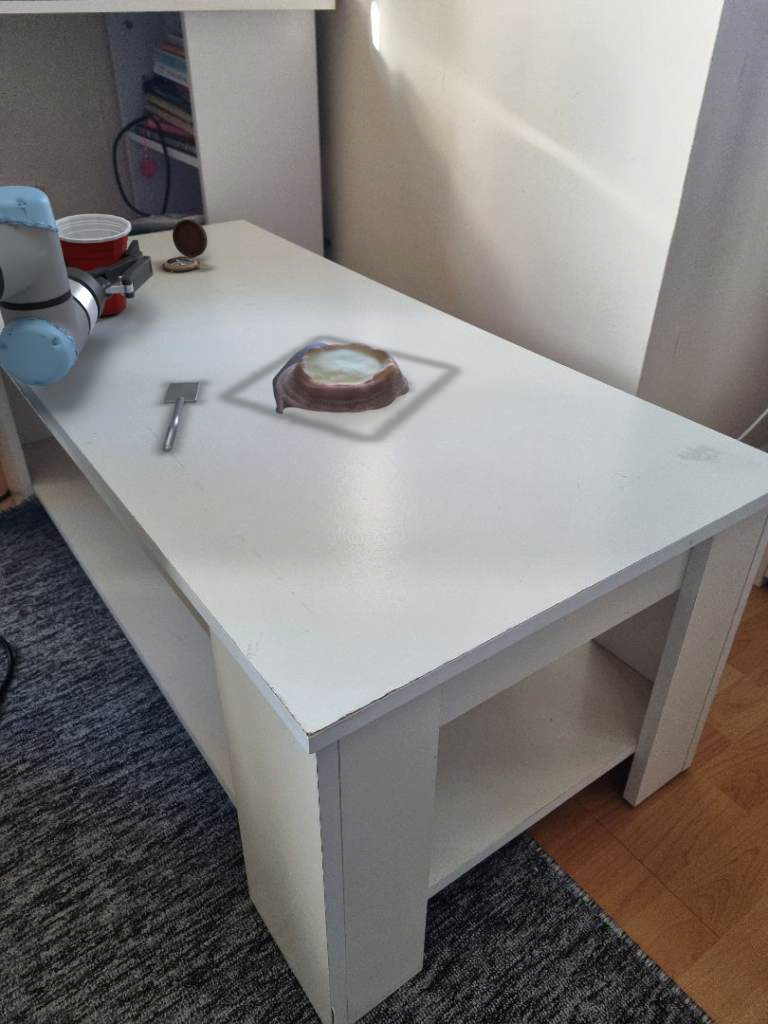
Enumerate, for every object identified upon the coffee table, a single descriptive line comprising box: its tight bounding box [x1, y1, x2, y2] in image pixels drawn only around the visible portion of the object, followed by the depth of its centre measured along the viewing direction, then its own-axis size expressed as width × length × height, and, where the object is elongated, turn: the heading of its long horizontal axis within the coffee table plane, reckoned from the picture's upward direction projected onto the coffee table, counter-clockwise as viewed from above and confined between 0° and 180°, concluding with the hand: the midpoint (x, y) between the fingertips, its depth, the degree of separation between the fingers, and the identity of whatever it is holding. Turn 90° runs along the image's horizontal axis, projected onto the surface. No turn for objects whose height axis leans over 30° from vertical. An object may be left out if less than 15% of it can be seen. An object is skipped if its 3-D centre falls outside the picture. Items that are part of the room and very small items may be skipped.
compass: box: [161, 217, 210, 274], centre depth 132 cm, size 8×8×7 cm
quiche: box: [271, 342, 410, 415], centre depth 96 cm, size 21×20×4 cm
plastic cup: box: [55, 213, 132, 316], centre depth 113 cm, size 11×11×12 cm
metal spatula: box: [161, 381, 201, 453], centre depth 90 cm, size 4×16×1 cm, turn 5°
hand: (104, 250), depth 116 cm, fingers closed on plastic cup, 8 cm apart
